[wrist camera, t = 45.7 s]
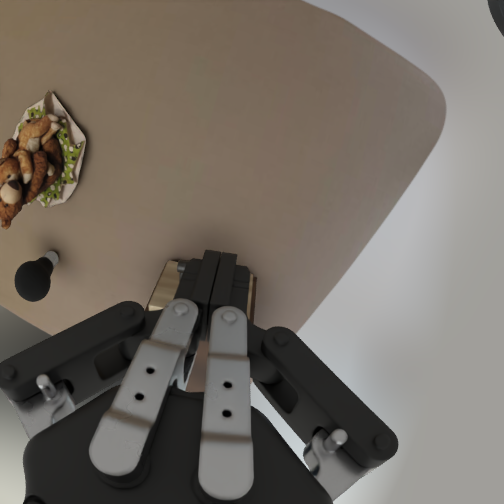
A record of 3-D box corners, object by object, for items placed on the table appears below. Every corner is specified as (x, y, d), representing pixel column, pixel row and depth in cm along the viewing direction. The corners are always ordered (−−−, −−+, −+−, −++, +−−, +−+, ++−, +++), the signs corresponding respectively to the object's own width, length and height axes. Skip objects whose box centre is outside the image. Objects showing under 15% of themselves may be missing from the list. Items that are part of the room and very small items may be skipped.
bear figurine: (109, 142, 33) (51, 179, 23) (58, 217, 39) (10, 266, 29) (43, 77, 28) (-25, 96, 18) (2, 160, 34) (-53, 195, 24)
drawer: (168, 232, 39) (145, 275, 31) (258, 246, 39) (255, 293, 32) (170, 328, 48) (156, 372, 41) (240, 340, 49) (235, 386, 42)
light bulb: (38, 255, 43) (6, 293, 35) (45, 231, 41) (9, 269, 32) (64, 275, 45) (35, 316, 37) (73, 252, 43) (40, 294, 34)
